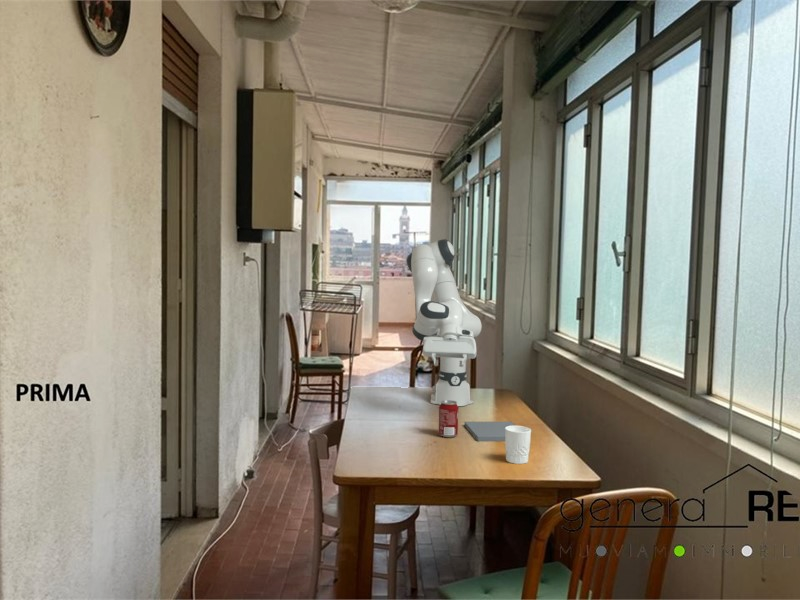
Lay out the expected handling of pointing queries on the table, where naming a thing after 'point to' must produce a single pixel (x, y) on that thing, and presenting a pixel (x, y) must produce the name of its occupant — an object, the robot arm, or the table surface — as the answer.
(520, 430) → the white cup
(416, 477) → the table surface
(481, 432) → the slate board
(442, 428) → the soda can
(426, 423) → the table surface
